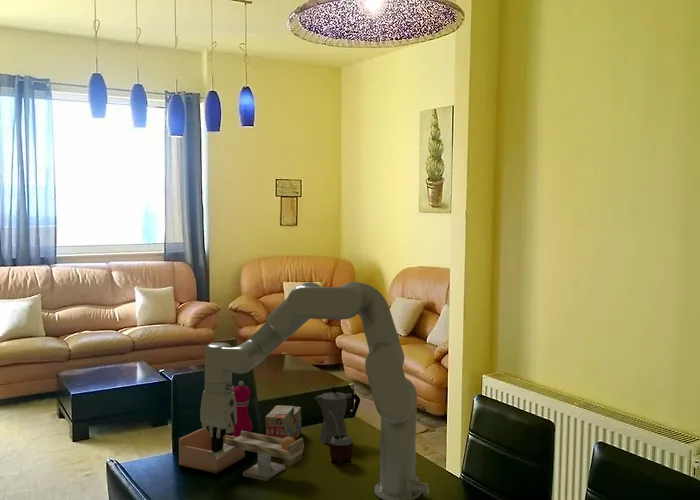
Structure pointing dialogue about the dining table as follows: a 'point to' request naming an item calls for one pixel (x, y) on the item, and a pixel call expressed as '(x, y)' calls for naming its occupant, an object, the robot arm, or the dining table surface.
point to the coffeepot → (335, 412)
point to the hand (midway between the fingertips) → (217, 450)
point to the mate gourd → (340, 447)
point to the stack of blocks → (283, 422)
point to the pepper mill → (242, 409)
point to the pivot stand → (263, 468)
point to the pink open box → (205, 452)
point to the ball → (287, 442)
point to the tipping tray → (262, 447)
